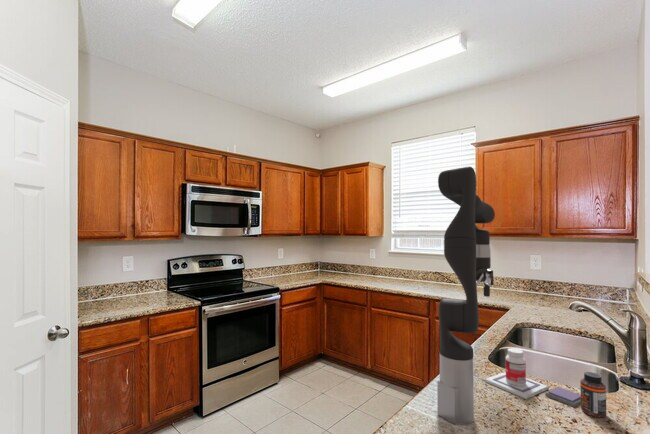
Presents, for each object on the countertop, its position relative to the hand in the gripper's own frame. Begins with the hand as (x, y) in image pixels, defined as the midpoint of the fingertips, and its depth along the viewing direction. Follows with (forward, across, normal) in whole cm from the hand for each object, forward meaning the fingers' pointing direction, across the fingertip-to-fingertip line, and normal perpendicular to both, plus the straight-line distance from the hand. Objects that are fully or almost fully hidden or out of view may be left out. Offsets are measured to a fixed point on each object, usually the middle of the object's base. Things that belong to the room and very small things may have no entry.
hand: (480, 297), depth 128 cm
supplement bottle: (+28, +1, -35) cm, 45 cm away
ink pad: (+28, +4, -27) cm, 39 cm away
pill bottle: (+27, -1, -14) cm, 31 cm away
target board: (+28, -1, -14) cm, 31 cm away
